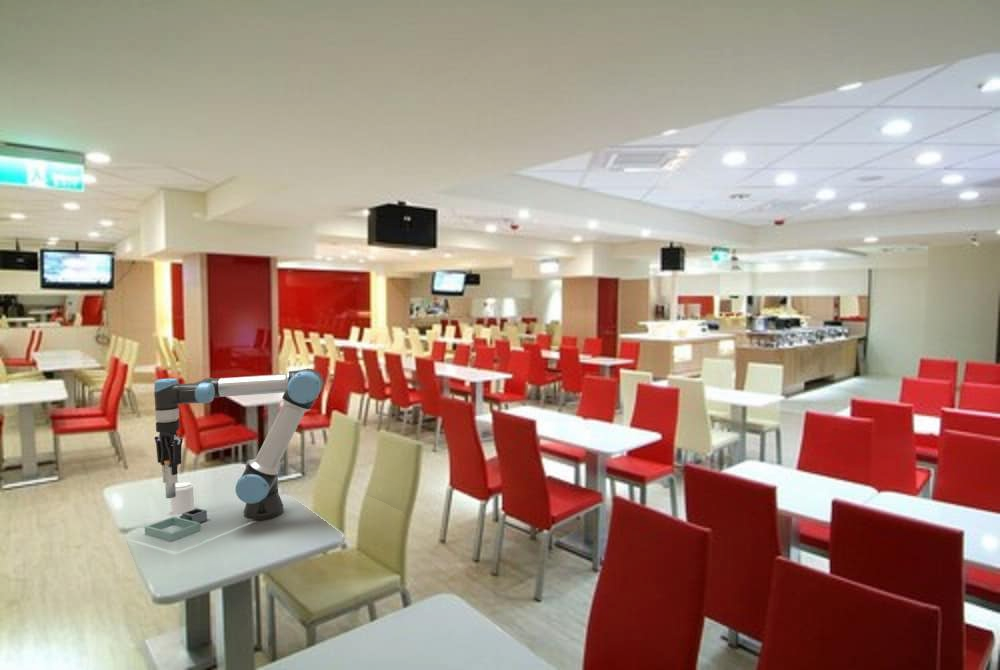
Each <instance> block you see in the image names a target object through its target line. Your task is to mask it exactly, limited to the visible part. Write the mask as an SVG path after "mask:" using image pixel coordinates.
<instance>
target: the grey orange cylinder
mask: <svg viewBox="0 0 1000 670" xmlns="http://www.w3.org/2000/svg"><path fill="white" fill-rule="evenodd" d="M164 465H165V483H164V485H165V498H166V499H171V498H174V497H176V486H175V484H176V483H173V484H169V467H168V466H169V465H170V462H169V459H167V460H164Z"/></svg>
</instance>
